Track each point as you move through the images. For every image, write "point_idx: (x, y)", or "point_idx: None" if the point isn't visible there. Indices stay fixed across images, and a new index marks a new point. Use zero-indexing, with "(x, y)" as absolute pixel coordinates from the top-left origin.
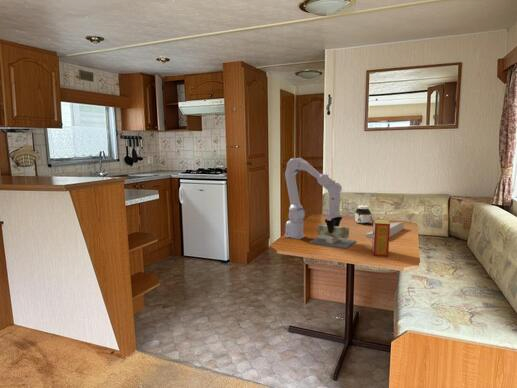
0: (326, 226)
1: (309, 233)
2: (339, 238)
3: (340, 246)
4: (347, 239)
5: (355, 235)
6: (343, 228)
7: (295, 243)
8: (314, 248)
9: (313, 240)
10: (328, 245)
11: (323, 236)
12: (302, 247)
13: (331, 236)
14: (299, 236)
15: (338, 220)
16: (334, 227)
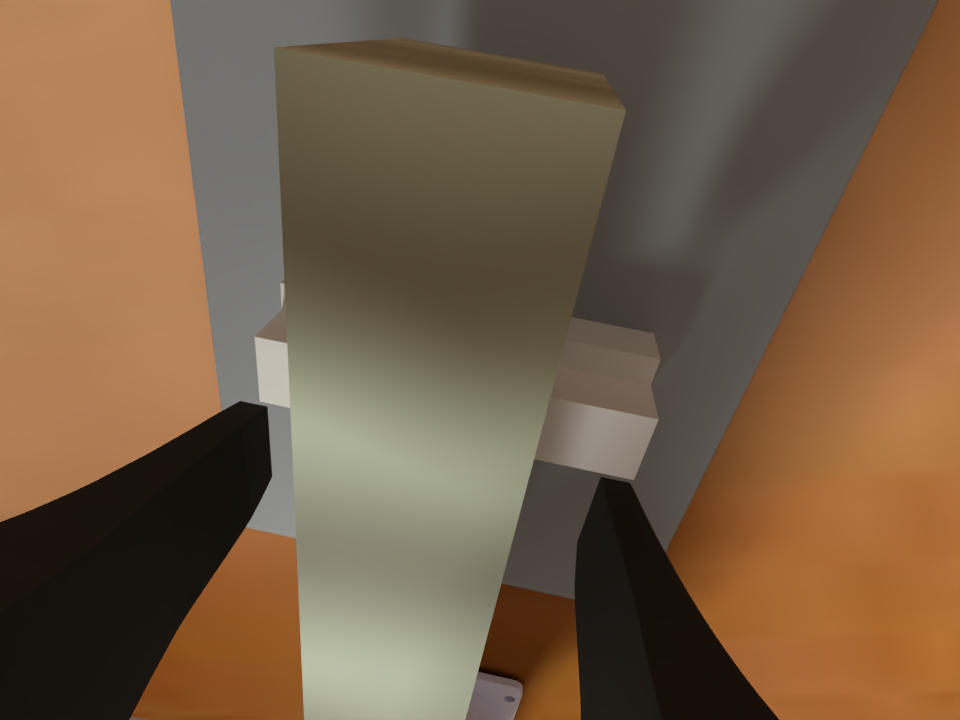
0: (467, 694)
1: (209, 618)
2: (233, 270)
3: (836, 160)
4: (203, 105)
5: None
6: (517, 284)
7: None
8: (935, 532)
9: (554, 579)
10: (743, 381)
11: (277, 495)
12: (893, 644)
13: None
14: (478, 706)
15: (44, 636)
16: (491, 552)
